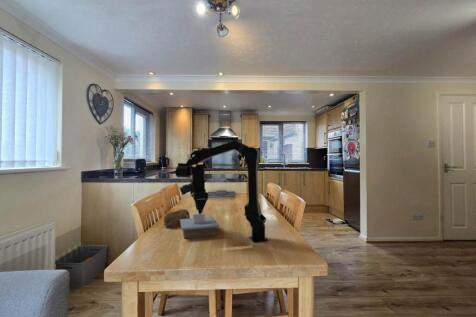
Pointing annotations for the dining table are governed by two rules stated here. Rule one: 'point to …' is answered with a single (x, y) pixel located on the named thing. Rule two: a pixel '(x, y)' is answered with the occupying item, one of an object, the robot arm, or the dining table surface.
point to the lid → (198, 222)
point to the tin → (175, 217)
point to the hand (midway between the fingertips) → (198, 211)
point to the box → (199, 233)
